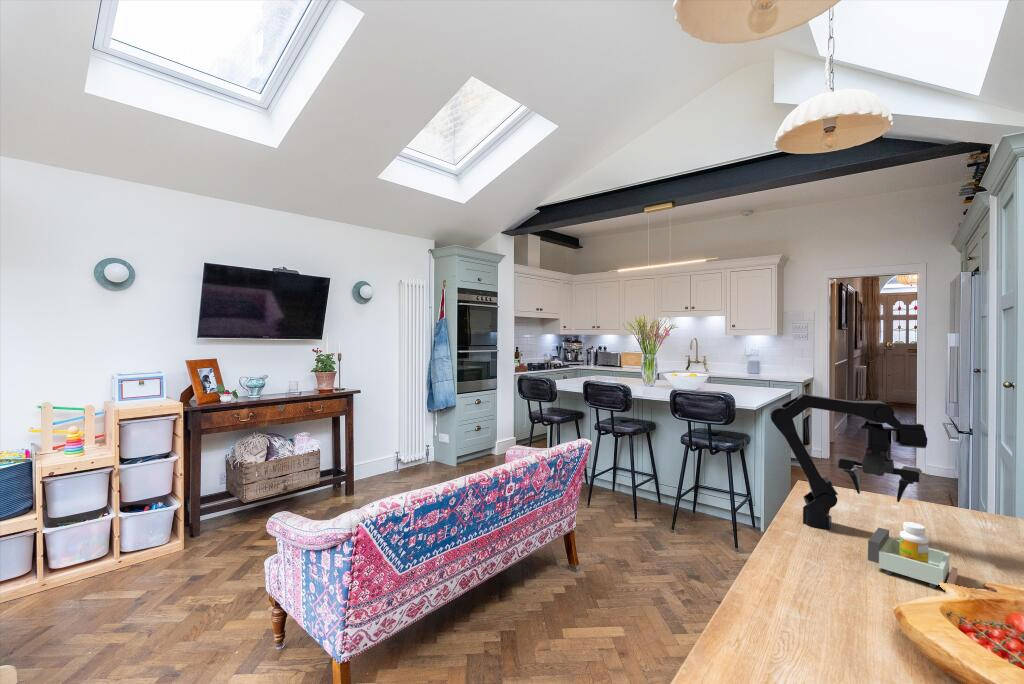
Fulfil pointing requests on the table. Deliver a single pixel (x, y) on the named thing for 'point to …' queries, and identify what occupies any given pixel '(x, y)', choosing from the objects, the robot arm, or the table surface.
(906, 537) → the supplement bottle
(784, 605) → the table surface
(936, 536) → the table surface
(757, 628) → the table surface
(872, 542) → the pale green bin
